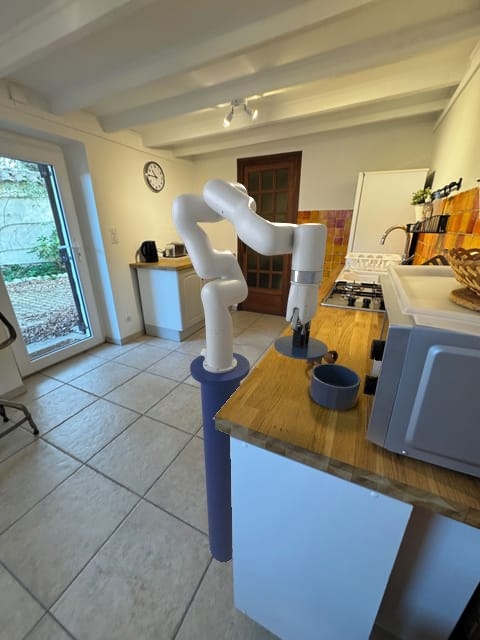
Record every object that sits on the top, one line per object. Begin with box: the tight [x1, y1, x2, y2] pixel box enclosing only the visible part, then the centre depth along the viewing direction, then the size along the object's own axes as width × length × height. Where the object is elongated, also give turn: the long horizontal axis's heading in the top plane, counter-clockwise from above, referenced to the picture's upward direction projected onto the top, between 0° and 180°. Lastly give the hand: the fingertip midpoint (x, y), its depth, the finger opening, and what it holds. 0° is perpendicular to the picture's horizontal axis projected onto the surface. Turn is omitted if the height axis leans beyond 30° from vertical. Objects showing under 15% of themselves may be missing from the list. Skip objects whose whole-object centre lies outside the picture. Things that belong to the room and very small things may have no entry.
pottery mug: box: [305, 349, 339, 367], centre depth 90 cm, size 12×10×8 cm
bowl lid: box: [273, 329, 329, 361], centre depth 68 cm, size 14×14×6 cm
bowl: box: [309, 362, 362, 411], centre depth 74 cm, size 13×13×7 cm
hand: (300, 344), depth 68 cm, fingers closed on bowl lid, 2 cm apart
